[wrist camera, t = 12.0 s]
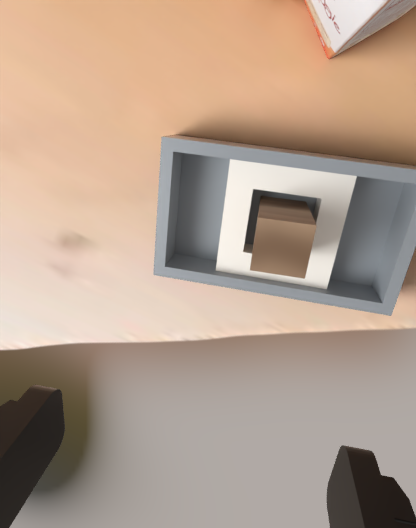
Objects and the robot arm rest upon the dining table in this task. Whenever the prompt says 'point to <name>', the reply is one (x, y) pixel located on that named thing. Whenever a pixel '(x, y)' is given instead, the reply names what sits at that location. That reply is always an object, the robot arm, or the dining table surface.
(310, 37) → the dining table surface
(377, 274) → the walled box
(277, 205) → the peg
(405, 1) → the cracker box
